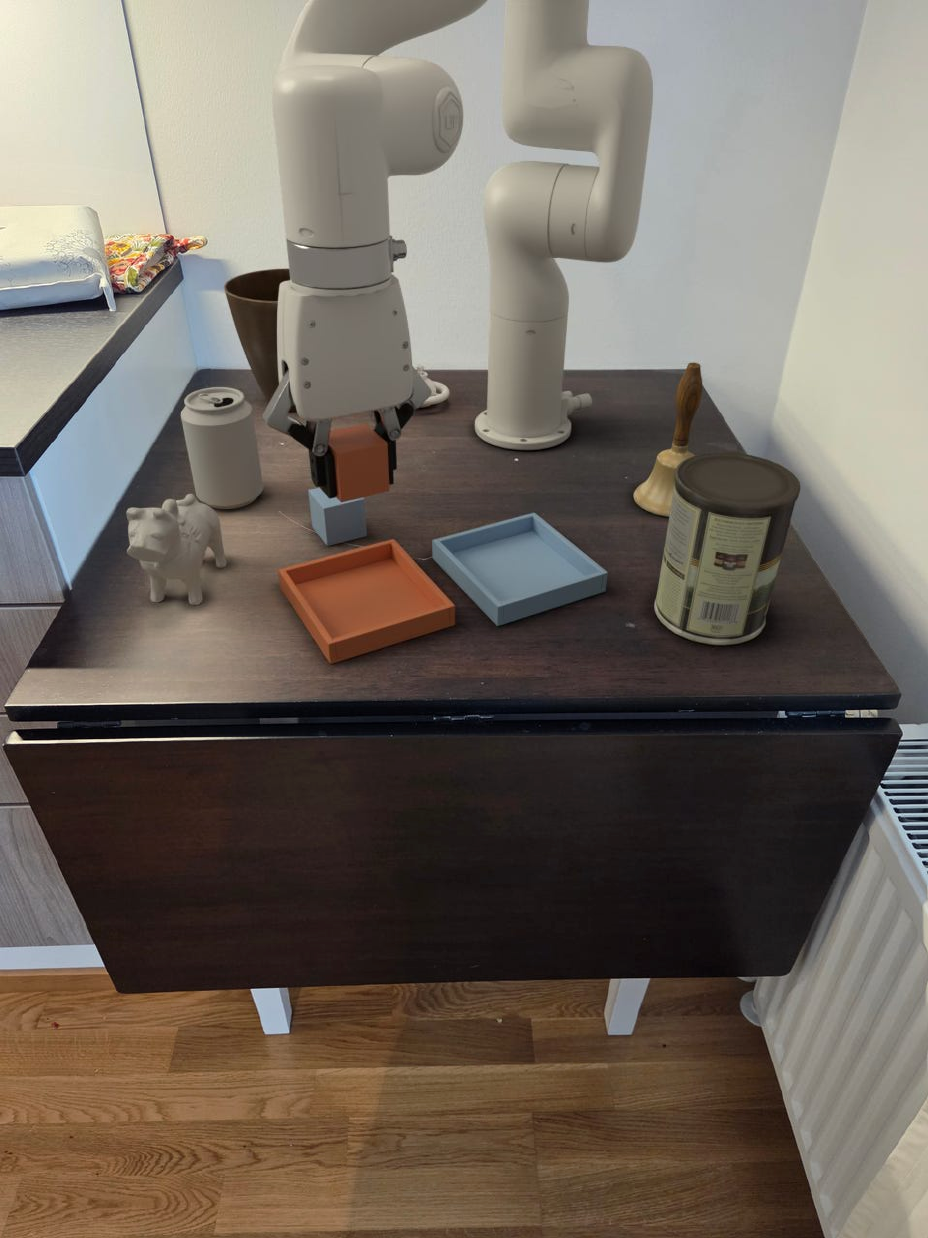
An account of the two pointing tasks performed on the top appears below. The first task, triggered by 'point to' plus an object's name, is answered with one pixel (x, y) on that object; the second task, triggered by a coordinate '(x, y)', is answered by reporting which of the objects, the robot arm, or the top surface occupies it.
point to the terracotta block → (359, 462)
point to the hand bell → (661, 481)
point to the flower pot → (258, 322)
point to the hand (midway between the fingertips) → (355, 483)
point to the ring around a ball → (433, 389)
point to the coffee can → (724, 546)
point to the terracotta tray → (365, 600)
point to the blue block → (337, 517)
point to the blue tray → (518, 568)
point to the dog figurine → (175, 543)
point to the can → (222, 447)
